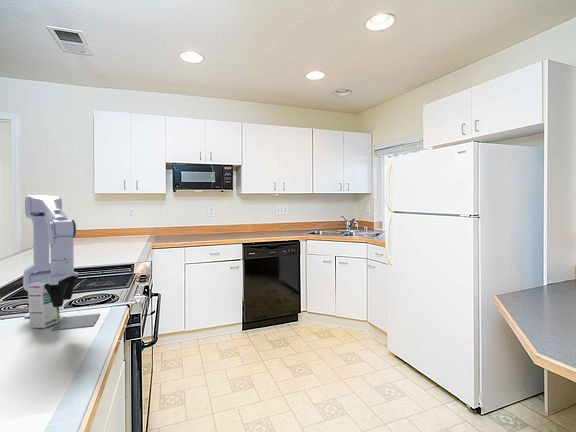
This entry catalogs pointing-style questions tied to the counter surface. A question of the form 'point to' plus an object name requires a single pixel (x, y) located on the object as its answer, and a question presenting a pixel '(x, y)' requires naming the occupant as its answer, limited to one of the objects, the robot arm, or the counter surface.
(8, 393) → the counter surface
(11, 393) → the counter surface
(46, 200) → the robot arm
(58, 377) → the counter surface
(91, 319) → the mat
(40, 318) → the syrup box
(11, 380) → the counter surface
